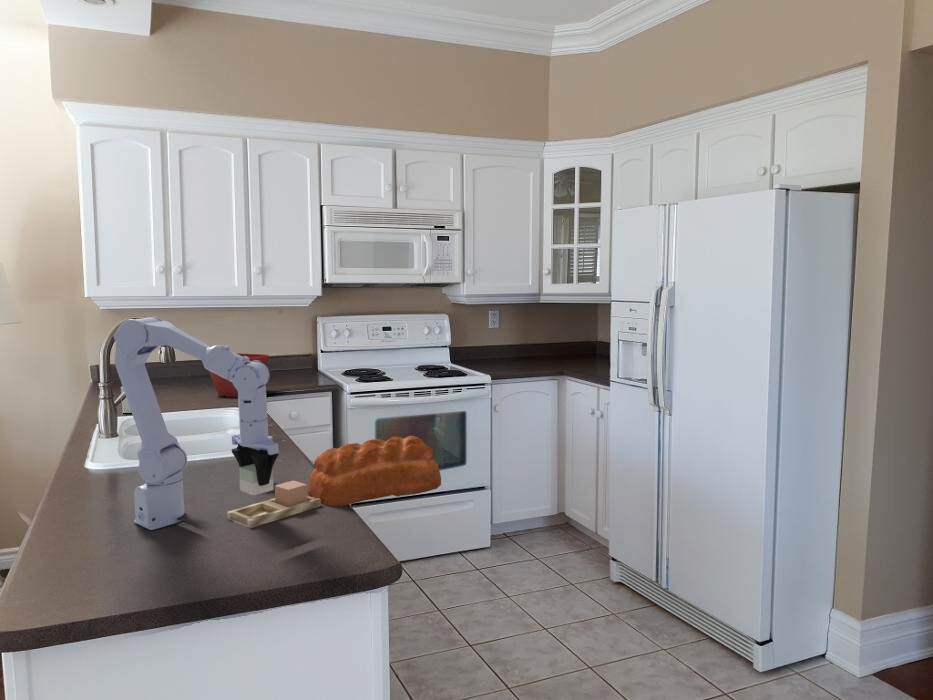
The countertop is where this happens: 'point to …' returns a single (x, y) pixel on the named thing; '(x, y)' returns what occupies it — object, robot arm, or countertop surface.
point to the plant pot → (226, 386)
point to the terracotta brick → (290, 493)
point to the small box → (125, 404)
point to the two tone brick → (253, 481)
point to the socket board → (269, 512)
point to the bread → (374, 471)
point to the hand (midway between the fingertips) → (256, 482)
